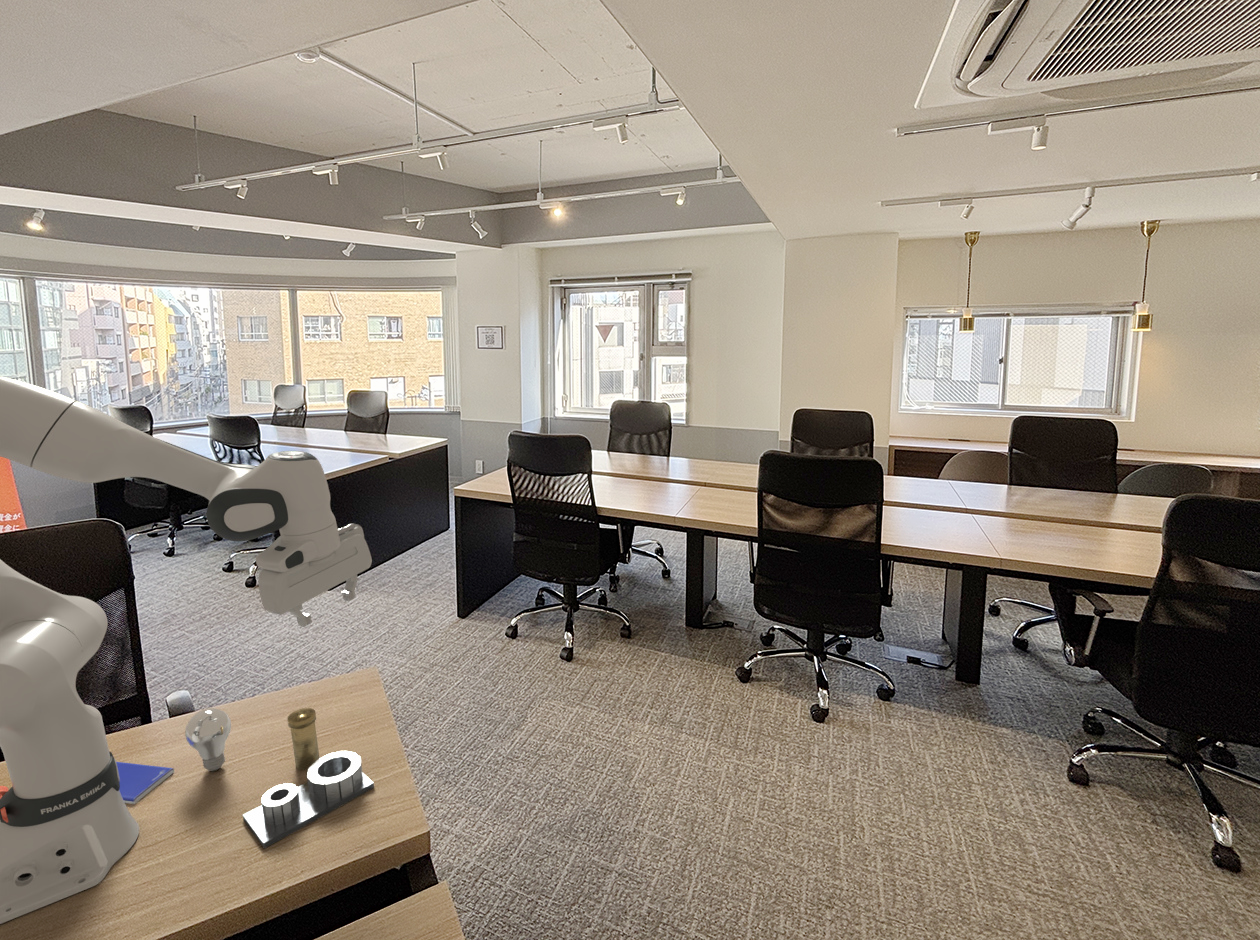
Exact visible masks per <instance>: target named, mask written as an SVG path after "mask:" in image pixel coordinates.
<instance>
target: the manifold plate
mask: <svg viewBox="0 0 1260 940" xmlns="http://www.w3.org/2000/svg"><path fill="white" fill-rule="evenodd" d="M319 758H320V759H318V760H317V761H316V762H315V763H313V764H312V765H311V766H310V767H309V769H308V770H307V775H306V779H307V781H306V782H304V783H303V784H300V785H299V786H296V784H294V783H288V782H287V783H286V782H285V783H283V784H278V785H275V786H273V787H272V788H270V789H268V790H267V791H266V792H265V793H264V794H263V795H262V797H261V800H260V801H261V802H260V803H261V805H259V806H258V807H257V806H256V807H255V808H253V809H251V810H249V811H247V812H245V813H243V814H242V818H243V822H245V824H246V825H247V826H248V828H249V830H250V832H251V833H252V834H253V835H254V837H255V838H256V840H257V841H258V842H259V843H260V845H261V846H262V848H263V849H266V848H268V847H270V846H272V845H273V844H275V843H277V842H279V841H280V840H282V839H284V838H286V837H288V836H289V835H291V834H293V833H295V832H297V831H298V830H300V829H302V828H304V827H306V826H308V825H309V824H312V823H314V822H315V821H316V820H318V819H320V818H322V817H324V816H325V815H328V814H329V813H331V812H333V811H335V810H336V809H338V808H341V806H344V805H345V804H347V803H349V802H350V801H352V800H354V799H356V798H359V796H361V795H364V794H365V793H367V792H369V791H370V790H372V789H374V788H375V783H374V781H372V780H371V779H370V778H369V776H367V775H366V774H365V773H364V772H363V765H362V758H361V756H360V755H358V754H357V753H356V752H354V751H348V750H339V751H336V752H331V753H328V754H326V755H323V756H321V757H319Z"/></svg>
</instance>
